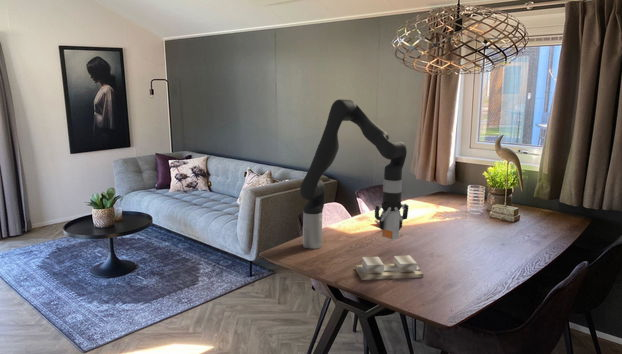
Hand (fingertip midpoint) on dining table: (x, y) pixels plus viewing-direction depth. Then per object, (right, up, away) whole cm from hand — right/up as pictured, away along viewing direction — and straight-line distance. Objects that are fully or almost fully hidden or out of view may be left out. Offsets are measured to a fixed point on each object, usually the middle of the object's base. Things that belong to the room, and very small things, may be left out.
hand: (390, 228), depth 194 cm
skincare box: (0, -4, +1) cm, 4 cm away
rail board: (0, -19, +4) cm, 19 cm away
